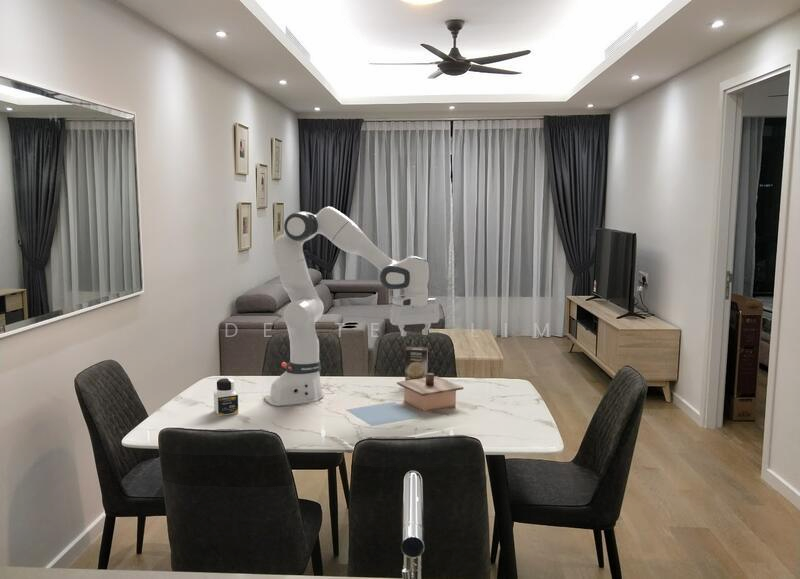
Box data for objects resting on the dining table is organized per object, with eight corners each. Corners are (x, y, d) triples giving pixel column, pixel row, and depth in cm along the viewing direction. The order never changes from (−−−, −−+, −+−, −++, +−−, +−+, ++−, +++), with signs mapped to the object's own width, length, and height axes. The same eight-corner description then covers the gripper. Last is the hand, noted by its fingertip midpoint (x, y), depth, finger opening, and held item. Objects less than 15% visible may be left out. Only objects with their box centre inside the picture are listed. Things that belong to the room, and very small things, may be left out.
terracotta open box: (423, 412, 235) (424, 393, 234) (404, 402, 247) (404, 384, 246) (455, 406, 242) (455, 388, 241) (434, 397, 254) (435, 379, 253)
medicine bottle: (218, 416, 228) (217, 383, 227) (214, 410, 235) (213, 378, 233) (238, 413, 232) (237, 380, 230) (233, 407, 238) (233, 376, 237)
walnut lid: (422, 396, 231) (422, 382, 231) (396, 384, 246) (397, 371, 246) (463, 389, 240) (463, 376, 240) (436, 378, 256) (436, 366, 255)
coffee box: (404, 387, 267) (404, 349, 265) (405, 383, 273) (406, 346, 271) (426, 388, 266) (427, 350, 264) (427, 384, 272) (428, 347, 270)
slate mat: (371, 427, 218) (371, 425, 218) (345, 411, 235) (345, 409, 235) (422, 418, 228) (422, 416, 228) (393, 403, 246) (393, 401, 245)
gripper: (434, 297, 252) (432, 332, 253) (388, 299, 241) (387, 335, 243) (443, 299, 246) (441, 335, 248) (396, 301, 236) (395, 338, 238)
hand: (414, 335), depth 246 cm, fingers open, 8 cm apart
